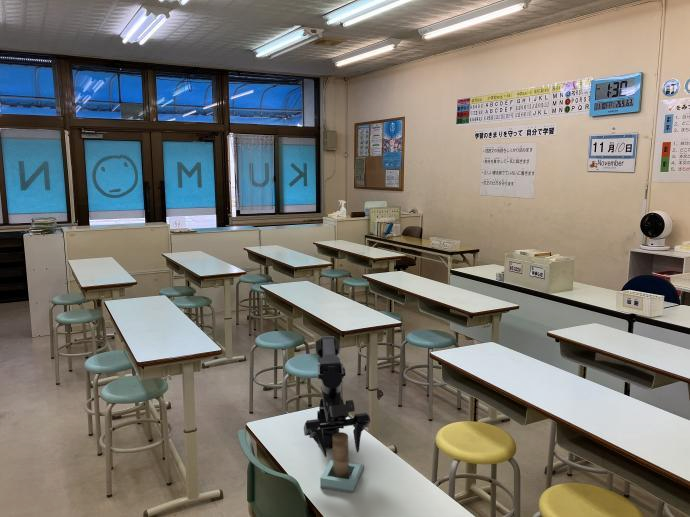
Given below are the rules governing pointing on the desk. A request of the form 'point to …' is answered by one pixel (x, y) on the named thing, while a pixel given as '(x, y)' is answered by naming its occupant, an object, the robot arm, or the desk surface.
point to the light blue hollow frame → (339, 483)
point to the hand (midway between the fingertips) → (342, 454)
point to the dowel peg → (340, 455)
